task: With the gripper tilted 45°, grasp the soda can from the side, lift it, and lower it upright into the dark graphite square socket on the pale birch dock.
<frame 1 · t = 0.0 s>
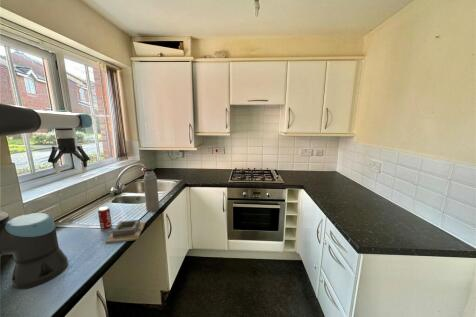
hand: (71, 173, 113), 28 cm above the worktop, tool pointing down, fingers open, 13 cm apart
soda can: (106, 228, 105), on the worktop
square socket dock: (127, 232, 100), on the worktop
thermos bottle: (152, 209, 128), on the worktop
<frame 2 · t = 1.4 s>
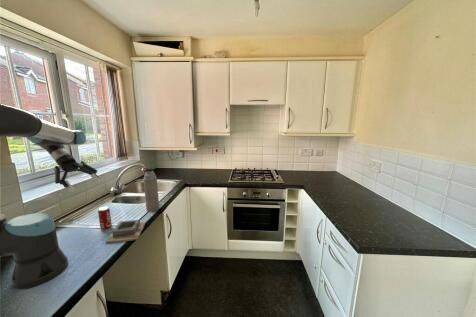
hand: (86, 186, 104), 23 cm above the worktop, tool tilted 45°, fingers open, 13 cm apart
nothing on the worktop moved.
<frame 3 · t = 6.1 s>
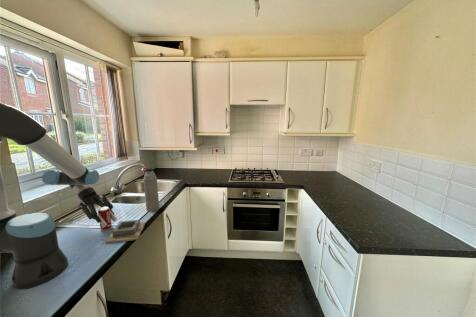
hand: (110, 223, 103), 4 cm above the worktop, tool tilted 45°, fingers closed on soda can, 5 cm apart
soda can: (106, 228, 105), on the worktop, touching gripper
everything else where it was.
when the fingers open (7 cm above the worktop, at t = 11.4 s): soda can drops 2 cm, resting on square socket dock.
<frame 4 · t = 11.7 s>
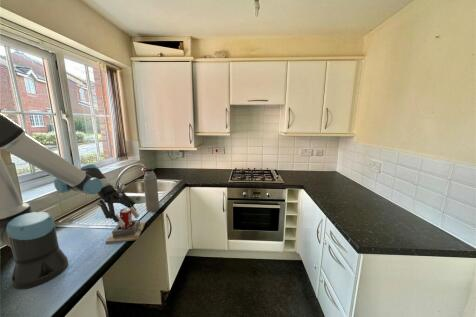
hand: (130, 221, 98), 7 cm above the worktop, tool tilted 45°, fingers open, 8 cm apart
soda can: (127, 230, 100), point 1 cm above the worktop, touching square socket dock
everything else where it was.
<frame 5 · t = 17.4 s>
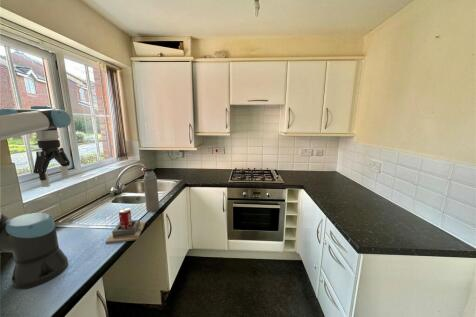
hand: (56, 182, 93), 29 cm above the worktop, tool pointing down, fingers open, 13 cm apart
nothing on the worktop moved.
at the end: soda can 0.1 cm off-centre on the square socket dock, point 1.0 cm above the square socket dock's base; soda can tilted 0°; the gripper is holding nothing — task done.
